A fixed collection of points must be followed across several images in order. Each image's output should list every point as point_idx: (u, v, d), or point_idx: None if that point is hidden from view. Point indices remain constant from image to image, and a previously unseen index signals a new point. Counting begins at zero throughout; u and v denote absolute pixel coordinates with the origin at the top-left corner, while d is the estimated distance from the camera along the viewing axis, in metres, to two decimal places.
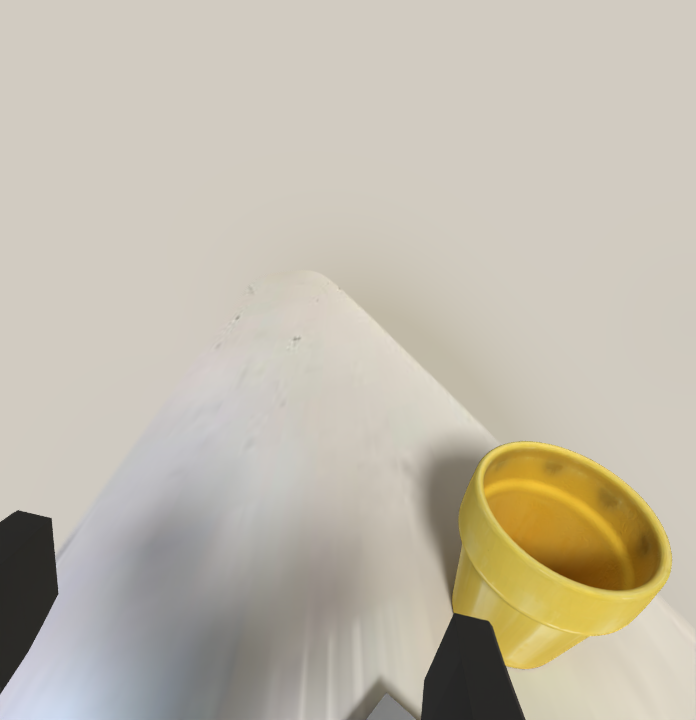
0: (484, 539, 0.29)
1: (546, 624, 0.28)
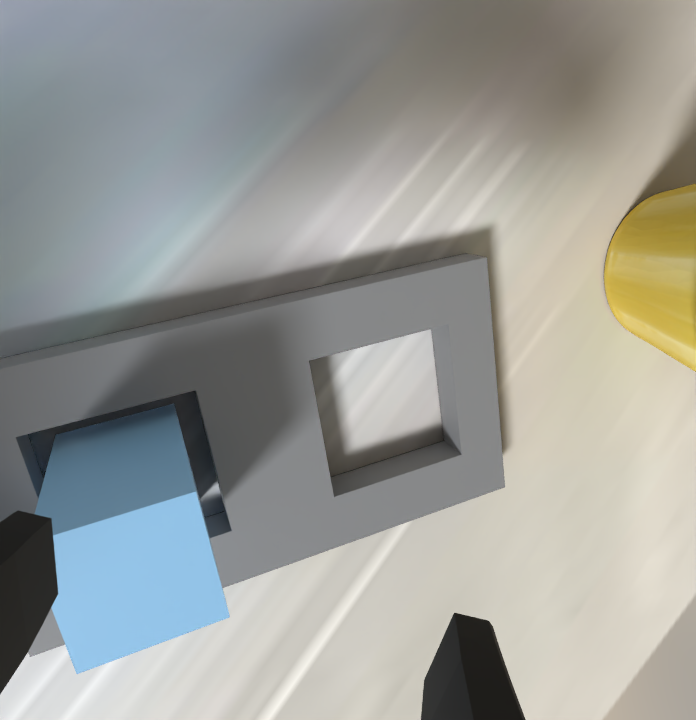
0: None
1: None
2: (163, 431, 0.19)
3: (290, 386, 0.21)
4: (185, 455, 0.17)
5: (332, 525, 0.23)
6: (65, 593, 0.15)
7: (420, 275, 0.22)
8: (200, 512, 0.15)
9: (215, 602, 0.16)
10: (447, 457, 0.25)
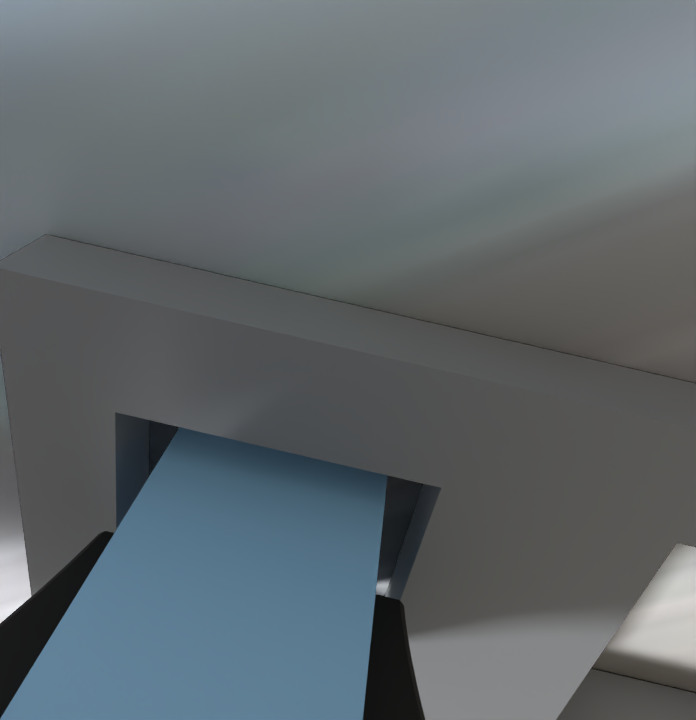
0: None
1: None
2: (348, 540, 0.10)
3: (609, 561, 0.10)
4: (362, 684, 0.08)
5: None
6: None
7: None
8: None
9: None
10: None
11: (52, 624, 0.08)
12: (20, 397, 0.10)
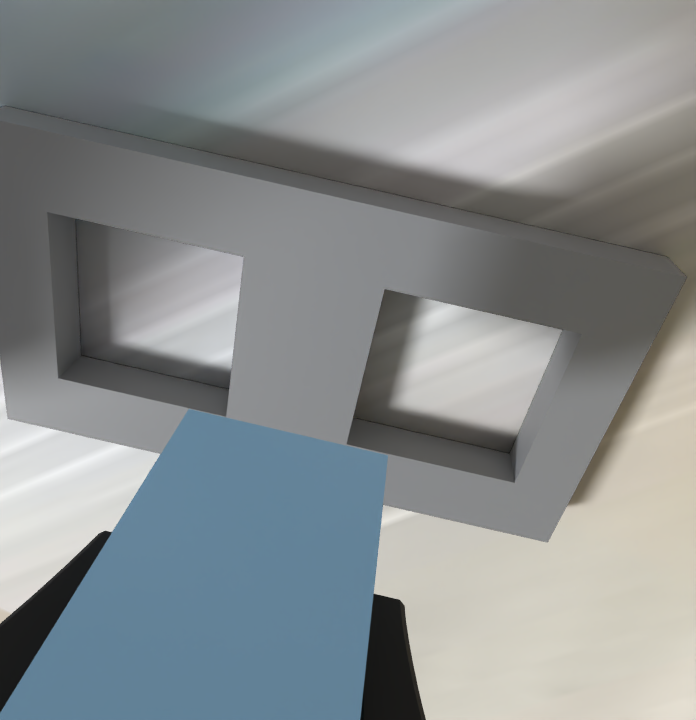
0: None
1: None
2: (346, 541, 0.10)
3: (350, 306, 0.17)
4: (360, 684, 0.08)
5: None
6: None
7: (578, 257, 0.16)
8: None
9: None
10: (497, 476, 0.20)
11: (52, 624, 0.08)
12: None
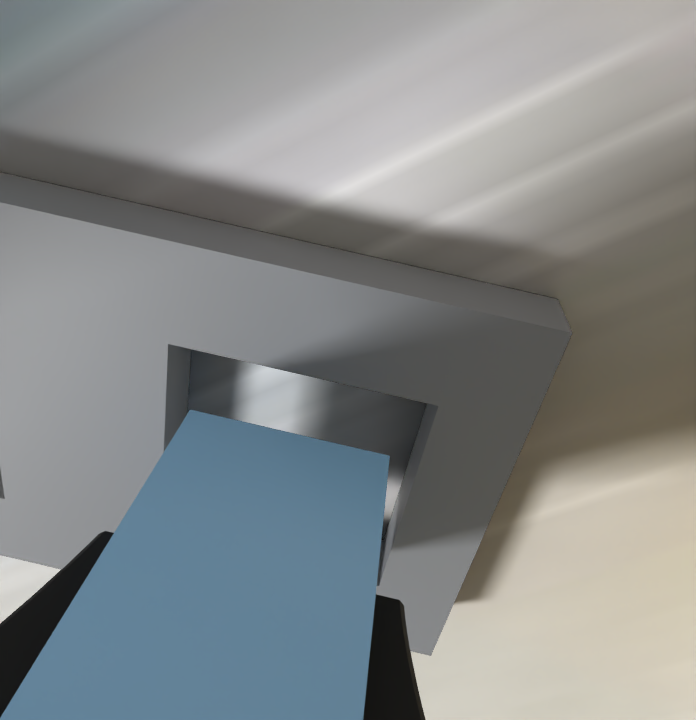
0: None
1: None
2: (348, 542, 0.10)
3: (128, 365, 0.13)
4: (363, 685, 0.08)
5: None
6: None
7: (419, 304, 0.11)
8: None
9: None
10: None
11: (52, 624, 0.08)
12: None
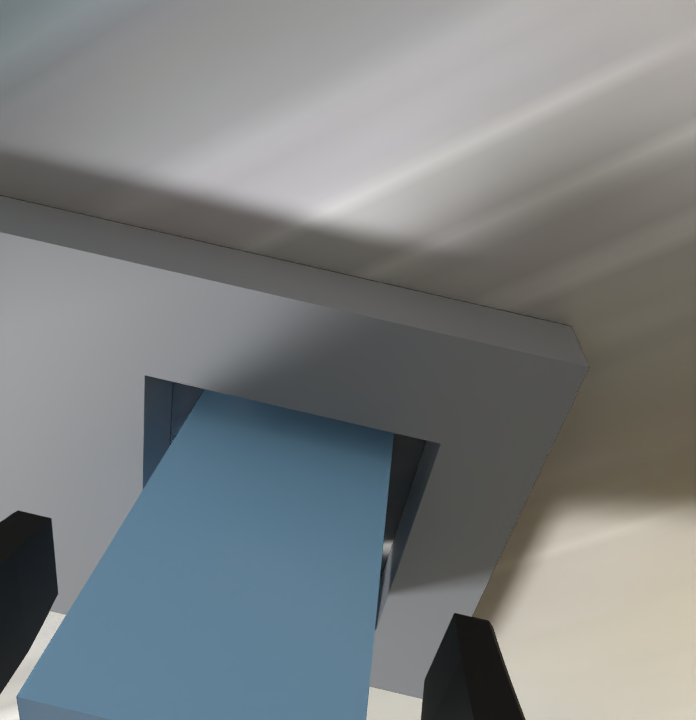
0: None
1: None
2: (359, 489, 0.11)
3: (102, 398, 0.12)
4: (374, 604, 0.09)
5: None
6: None
7: (420, 335, 0.10)
8: None
9: None
10: None
11: None
12: None
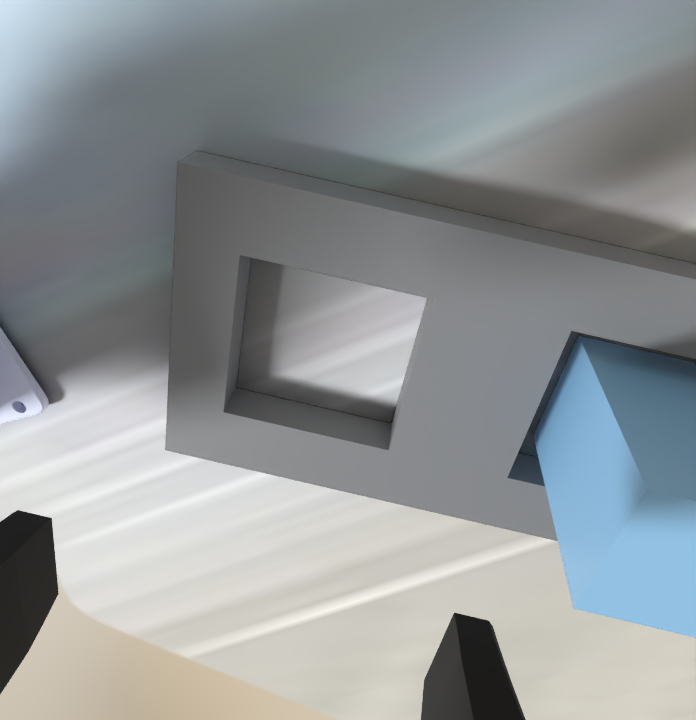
0: None
1: None
2: None
3: (533, 347, 0.17)
4: None
5: (488, 501, 0.20)
6: (632, 546, 0.13)
7: None
8: None
9: None
10: None
11: None
12: (182, 247, 0.17)
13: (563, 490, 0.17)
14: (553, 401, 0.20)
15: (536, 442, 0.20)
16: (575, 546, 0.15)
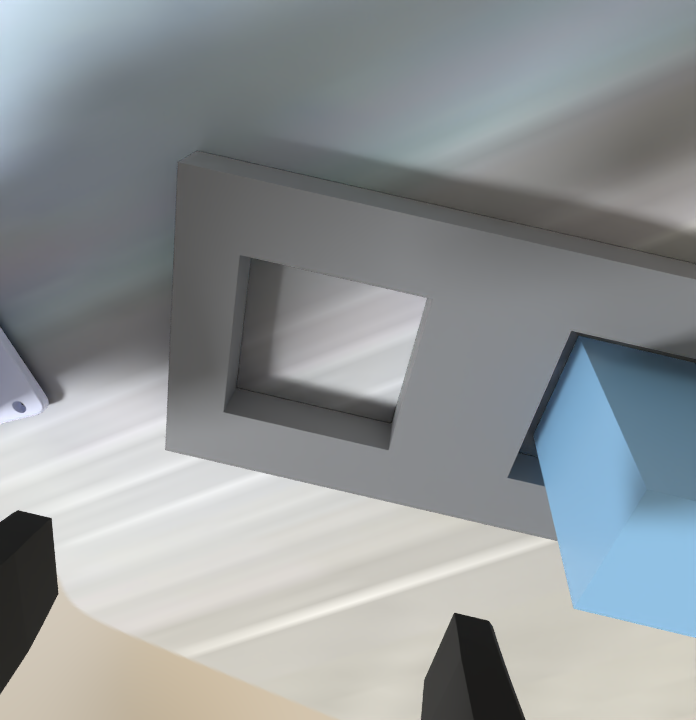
0: None
1: None
2: None
3: (533, 347, 0.17)
4: None
5: (488, 501, 0.20)
6: (632, 546, 0.13)
7: None
8: None
9: None
10: None
11: None
12: (182, 247, 0.17)
13: (563, 490, 0.17)
14: (553, 401, 0.20)
15: (536, 442, 0.20)
16: (575, 546, 0.15)
